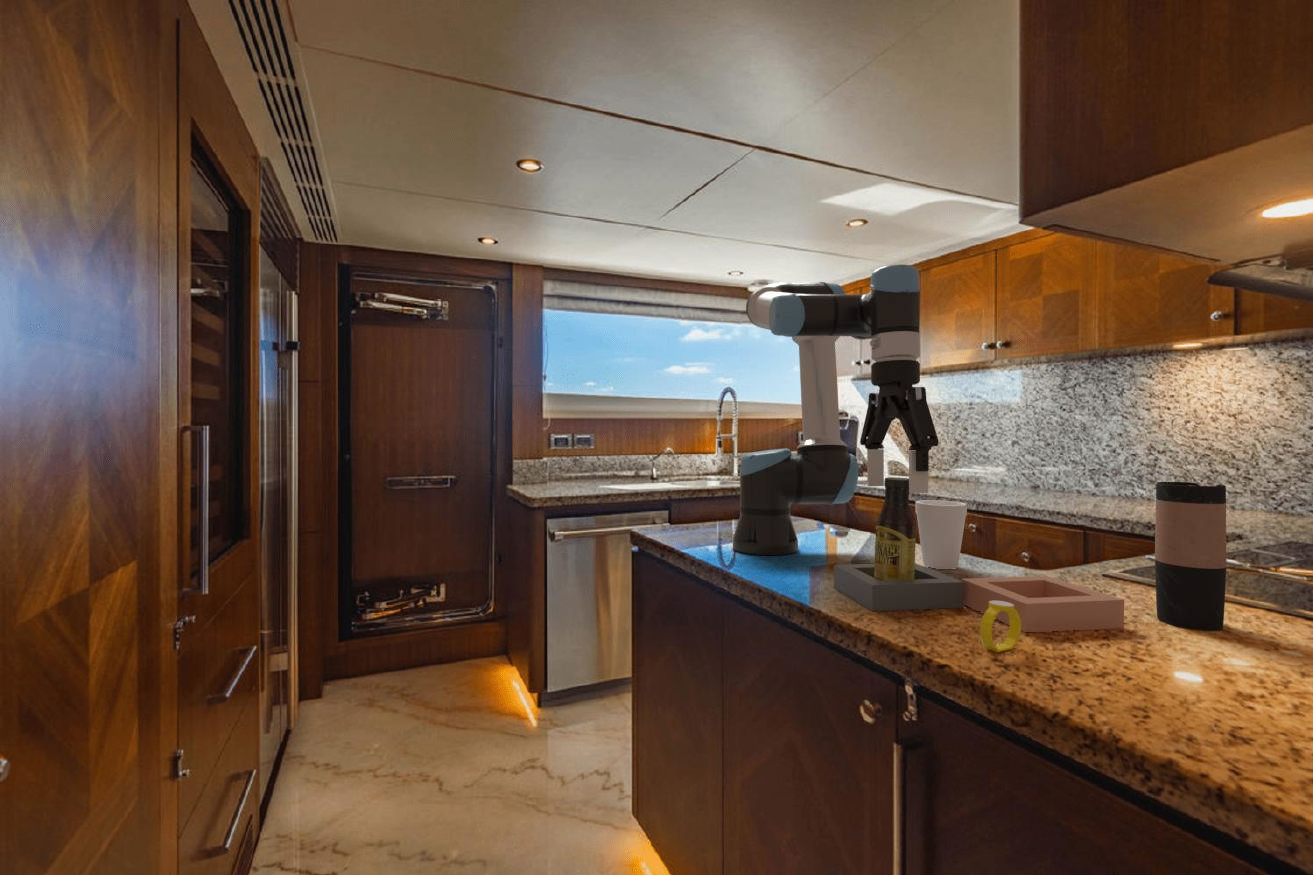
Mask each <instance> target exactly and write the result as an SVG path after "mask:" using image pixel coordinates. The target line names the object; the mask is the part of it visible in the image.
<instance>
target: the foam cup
mask: <svg viewBox="0 0 1313 875" xmlns="http://www.w3.org/2000/svg"><path fill="white" fill-rule="evenodd" d="M967 510H968V505H967V503H966V502H962V501H961V502H960V501H951V500H940V499H939V500H935V499H931V500H929V499H928V500H927V499H926V500H924V499H923V500H916V501H915V514H916V518H917V520H916V521H917V526H918V533H919V534H918V535H919V543H920V548H921V556H922V562H923V566H924V565H925V566H928V567H931V568H930V569H932V568H936V569H935V570H938V569H953V568H957V567H958V568H959V564H960V563H959V562H960V556H961V550H962V543H963V542H962V541H963V535H964V529H965V524H966V523H965V522H966V517H967V516H968V513H967V512H968V511H967ZM925 566H924V567H925ZM928 567H927V568H928Z"/></svg>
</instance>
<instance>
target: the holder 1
mask: <svg viewBox="0 0 1313 875" xmlns="http://www.w3.org/2000/svg"><path fill="white" fill-rule="evenodd" d="M874 565H875V563H859V564H857V563H856V564H852V563H851V564H833V588H834V589H836V591H838V592H840V593H842V594H843V595H845V596H846V597H849V598H850V599H851V600H853V601H855V602H856V603H858V604H860V605H861V606H863V607H865V608H867V609H868V610H869V611H871V612H887V611H890V612H891V611H892V612H893V611H909V610H912V611H913V610H916V611H917V610H934V609H935V610H937V609H939V610H940V609H959V608H960V609H961V608H964V605H963V582H962V581H961V580H959V579H956V578H954V577H951V576H949V575H946V574H943V573H942V572H938V571H936V570H935V569H932V568H928V567H925V566H924V565H922V564H918V563H916V562H915V574H914V580H886V581H879V580H877V579H875V578H874Z"/></svg>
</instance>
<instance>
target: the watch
mask: <svg viewBox="0 0 1313 875" xmlns="http://www.w3.org/2000/svg"><path fill="white" fill-rule="evenodd" d="M1000 611H1007V613H1008V616H1009V623H1010V626H1009V629H1008V632H1007V635H1006V638H1005V639H1004V640H1003V643H1000V644H996V645H995V644H994V641H993V640H994V639H993V637H992V636H993V635H992V634H993V625H994V622H995V620H996V619H995V617H996V616H997V615H998V613H999V612H1000ZM980 622H981V623H980V629H979V630H980V638H981V641H982V645H984V646H985V647H986V648H987V649H988V650H989V651H992V652H995V653H1001V652H1004V651H1010V650H1014V648H1015V647H1016V645H1017V643H1019V640H1020V637H1021V633H1022V631H1021V620H1020V617H1019V615H1018V612H1017V611H1016V609H1014V605H1013V604H1012V603H1009V602H1004V601H989V608H988V609H987V610H986V612H985V613H984V614H983V615H982V618H981V621H980Z"/></svg>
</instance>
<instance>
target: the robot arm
mask: <svg viewBox="0 0 1313 875" xmlns="http://www.w3.org/2000/svg"><path fill="white" fill-rule="evenodd" d="M869 289H870V291H869V292H868V293H865V294H863V293H862V294H861V293H860V294H858V293H857V294H856V293H855V294H851V293H850V294H849V293H846V292H845V290H844V288H843V287H842V286H841V285H840V284H837V283H833V282H824V281H819V282H773V283H770V284H766V285H763V286H761V287H758V288H757V289H755V290H753V292H752V293H750V295H749V297H748V298H747V300H746V305H745V312H746V316H747V318H748V320H749V321H750V322H751V324H753V325H754V326H756V327H757V328H760V329H765V330H769V331H770V332H771V333H772V334H773V335H774V336H779V337H781V336H782V337H788V338H791V339H792V341H793V342H794V343H795V344H797V346H798V357H799V359H798V360H799V376H800V377H799V378H800V381H799V382H800V402H801V403H800V404H801V423H802V424H801V425H802V426H801V428H802V441H801V443H800V444H799V445H798V446H797V447H796V454H792V452H791V449H789V448H778V449H777V448H776V449H767V450H766V449H765V450H760V451H753V452H748V453H745V454H744V455H743V456H742V457H741V459H740V466H739V467H740V468H739V473H738V476H739V478H740V479H739V482H740V483H739V484H740V485H739V491H740V493H739V498H740V499H739V506H740V507H739V519H738V522H737V525H736V528H735V530H734V534H733V537H732V549H733V550H735V551H737V552H739V553H743V554H750V555H760V556H761V555H762V556H778V555H779V556H780V555H791V554H793V553H794V554H795V553H796V552H798V551H799V540H798V537H797V533H796V530H795V527H794V523H793V520H792V517H791V505H828V506H830V505H835V504H836V505H839V504H840V505H841V504H846V503H848V502H849V501H850V500H851V499H852V498H853V496H854V494H855V492H856V489H857V486H858V483H859V482H858V480H859V463H858V458H857V457H856V456H855V455H854V454H852V453H849V451H848V450H849V448H848V445H847V443H845V442H844V441H843V440H842V439H841V429H840V428H841V425H840V410H839V390H838V387H839V386H838V375H837V374H838V372H837V354H836V342H837V341H838V340H839V339H840V338H841V337H852V338H853V339H856V340H861V341H863V340H870V341H869V346H870V347H871V350H870V351H871V360H872V361H874V362H873V363H872V364H871V366H870V369H871V370H870V372H871V373H870V376H871V378H870V380H871V381H870V383H871V384H872V385H873V386H875V387H878V388H879V390H878V392H869V393H868V404H867V410H866V415H865V419H864V423H863V427H862V432H861V436H860V439H859V440H860V441H859V444H860V446H864V448H865V449H866V454H867V455H866V458H867V459H866V463H867V464H866V469H867V470H866V475H867V476H866V477H867V478H866V481H867V483H866V484H867V486H866V487H885V486H884V481H885V478H884V477H885V467H884V466H885V463H884V462H885V460H884V458H885V457H884V456H885V453H884V452H885V446H884V444H883V443H884V440H885V438H886V435H887V433H888V431H889V429H890V426H891V423H892V421H895V419H898V420H899V422H900V424H901V426H902V428H903V431H904V433H905V435H906V437H907V439H908V441H909V443H910V445H909V448H908V474H909V475H908V479H909V494H929V467H930V466H929V463H930V461H929V459H930V458H929V454H930V451H931V449H932V448H933V447H938V445H939V443H940V442H939V437H938V435H937V431H936V427H935V423H934V422H933V418H932V414H931V411H930V408H929V403H928V402H927V390H926V387H925V386H914V385H918V384H919V383H920V381H921V363H920V362H919V361H918V360H917V359H919V358H921V337H920V336H921V332H920V326H921V325H920V319H921V317H920V315H921V314H920V313H921V312H920V311H921V307H920V306H921V300H920V299H921V290H922V289H921V286H920V272H919V270H918V268H917V267H915V266H914V265H910V264H890V265H886V266H882V267H878V268H876V269H875V270H874V271H872V273H871V276H870V285H869Z"/></svg>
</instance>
